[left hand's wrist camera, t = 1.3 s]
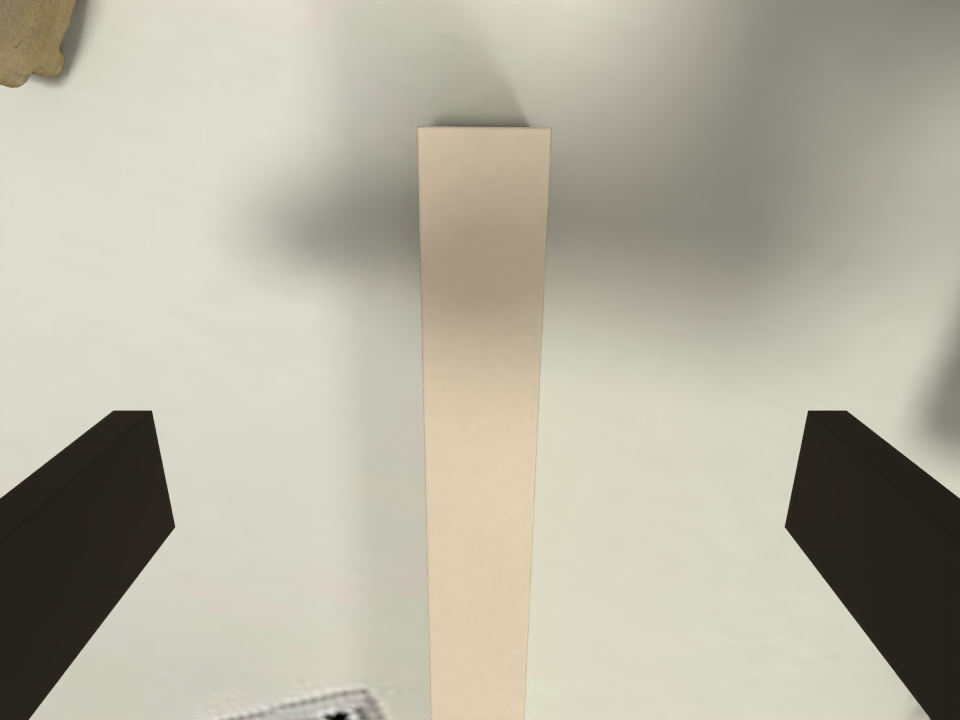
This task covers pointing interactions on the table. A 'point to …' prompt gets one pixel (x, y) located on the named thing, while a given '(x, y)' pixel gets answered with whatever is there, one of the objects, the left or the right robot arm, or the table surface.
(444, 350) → the post
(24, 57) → the sculpture
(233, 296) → the table surface
